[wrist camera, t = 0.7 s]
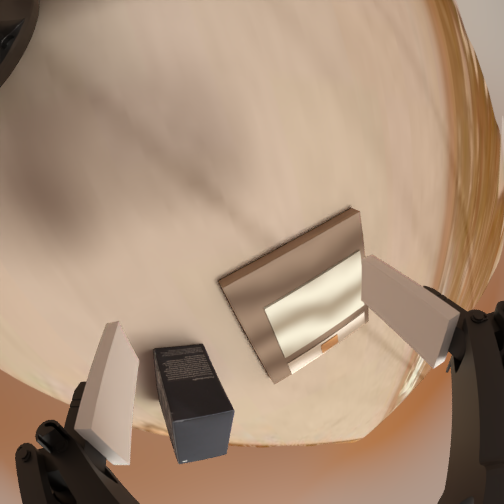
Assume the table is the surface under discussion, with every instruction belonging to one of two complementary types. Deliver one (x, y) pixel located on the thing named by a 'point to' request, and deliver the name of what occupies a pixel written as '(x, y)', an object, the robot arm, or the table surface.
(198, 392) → the small box
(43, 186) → the table surface
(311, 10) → the table surface
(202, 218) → the table surface
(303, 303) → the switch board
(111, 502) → the robot arm
